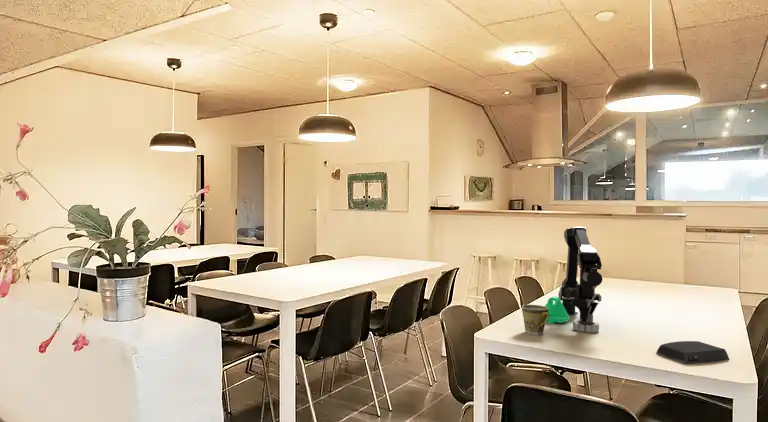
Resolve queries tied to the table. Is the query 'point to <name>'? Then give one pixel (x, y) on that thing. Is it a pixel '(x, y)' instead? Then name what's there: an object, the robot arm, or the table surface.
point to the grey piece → (586, 327)
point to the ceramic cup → (535, 318)
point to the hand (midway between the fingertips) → (586, 321)
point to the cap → (588, 321)
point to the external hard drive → (692, 352)
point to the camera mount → (556, 311)
